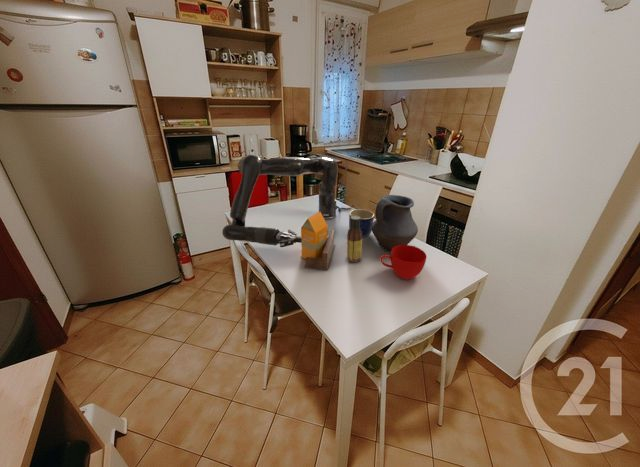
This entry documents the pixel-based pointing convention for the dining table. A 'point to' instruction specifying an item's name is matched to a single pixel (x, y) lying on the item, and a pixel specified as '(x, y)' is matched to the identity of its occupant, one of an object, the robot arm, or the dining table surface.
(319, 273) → the dining table surface
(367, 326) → the dining table surface
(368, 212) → the planter
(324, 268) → the wooden stand
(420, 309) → the dining table surface
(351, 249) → the sauce bottle
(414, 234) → the pitcher
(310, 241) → the orange juice
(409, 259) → the ceramic cup
